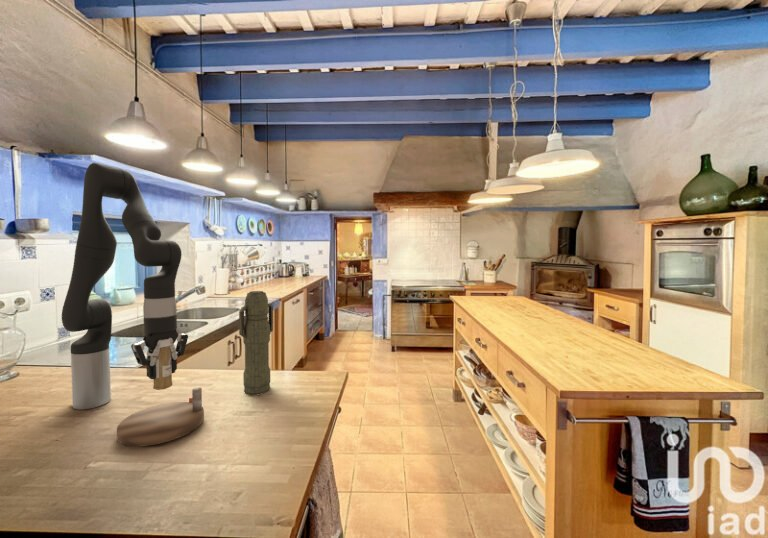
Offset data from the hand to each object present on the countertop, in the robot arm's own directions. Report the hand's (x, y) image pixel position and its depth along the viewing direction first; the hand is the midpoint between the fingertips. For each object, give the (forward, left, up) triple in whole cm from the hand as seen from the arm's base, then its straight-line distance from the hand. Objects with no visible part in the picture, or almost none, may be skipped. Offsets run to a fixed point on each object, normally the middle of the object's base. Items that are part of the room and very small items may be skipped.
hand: (162, 375), depth 93 cm
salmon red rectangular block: (-4, +11, -15) cm, 19 cm away
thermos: (+1, +31, -15) cm, 34 cm away
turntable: (0, 0, -15) cm, 15 cm away
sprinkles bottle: (0, 0, -3) cm, 3 cm away
